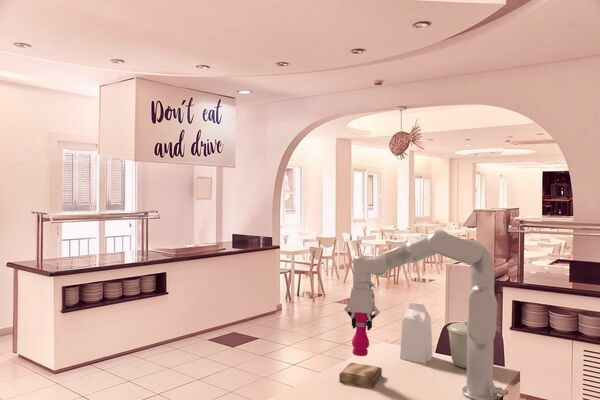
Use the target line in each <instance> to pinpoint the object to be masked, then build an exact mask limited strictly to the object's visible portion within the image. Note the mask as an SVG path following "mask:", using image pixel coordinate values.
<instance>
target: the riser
mask: <svg viewBox="0 0 600 400" xmlns="http://www.w3.org/2000/svg"><path fill="white" fill-rule="evenodd" d="M382 371H383V368H382V367H380V366H375V365H370V364H363V363H356V362H349V364H348V365H346V367H345V368H344V369H343V370H341V372H340V373H339V379H338V380H339V383H343V384H348V385H352V386H358V387H363V388H368V387H369V388H370V389H374V387H375V386H376V384H377V383H378V382H379V381H380V379H381V378H382V377H383V372H382Z"/></svg>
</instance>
